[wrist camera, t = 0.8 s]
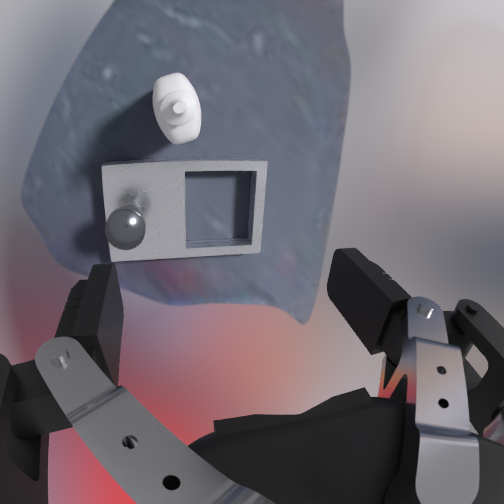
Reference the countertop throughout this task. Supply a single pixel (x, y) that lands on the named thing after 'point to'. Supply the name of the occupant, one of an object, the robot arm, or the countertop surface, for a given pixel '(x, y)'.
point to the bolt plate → (171, 208)
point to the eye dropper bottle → (177, 108)
